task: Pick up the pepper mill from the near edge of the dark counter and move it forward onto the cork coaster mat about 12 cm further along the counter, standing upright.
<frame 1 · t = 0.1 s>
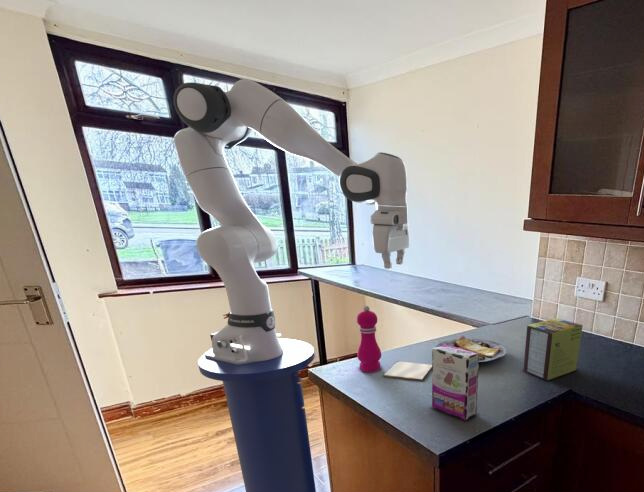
hand: (394, 266, 121), 31 cm above the table, tool pointing down, fingers open, 8 cm apart
protein box: (549, 370, 133), on the table
pepper mill: (370, 368, 128), on the table
food plate: (470, 355, 143), on the table
candy bar box: (454, 411, 104), on the table
coaster mat: (409, 371, 127), on the table
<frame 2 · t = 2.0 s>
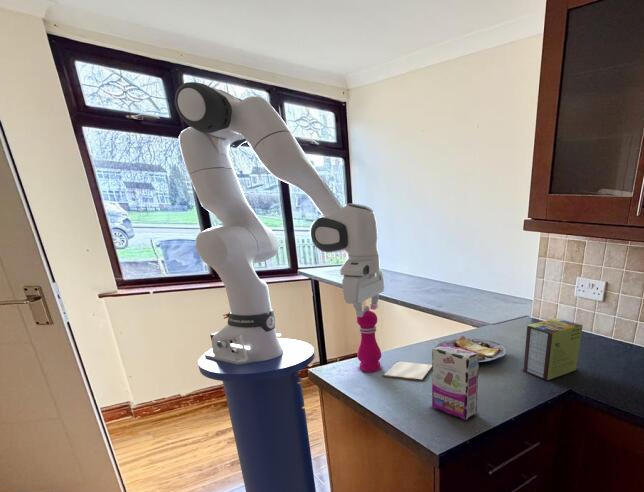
hand: (367, 312, 121), 18 cm above the table, tool pointing down, fingers open, 8 cm apart
nothing on the table moved.
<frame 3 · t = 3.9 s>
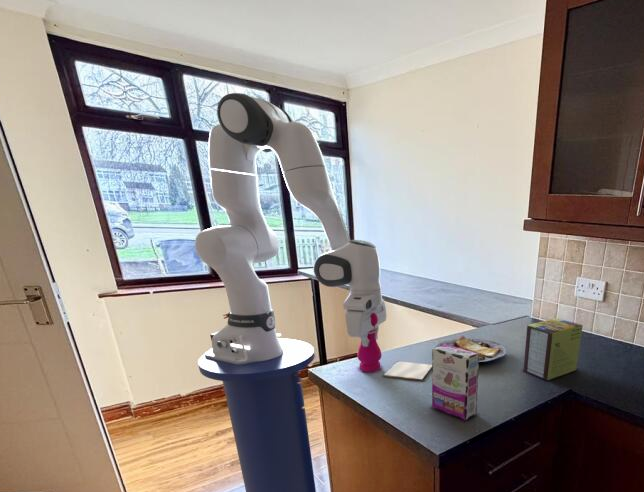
hand: (370, 342, 124), 9 cm above the table, tool pointing down, fingers closed on pepper mill, 4 cm apart
pepper mill: (370, 368, 128), on the table, touching arm, gripper
everything else where it was.
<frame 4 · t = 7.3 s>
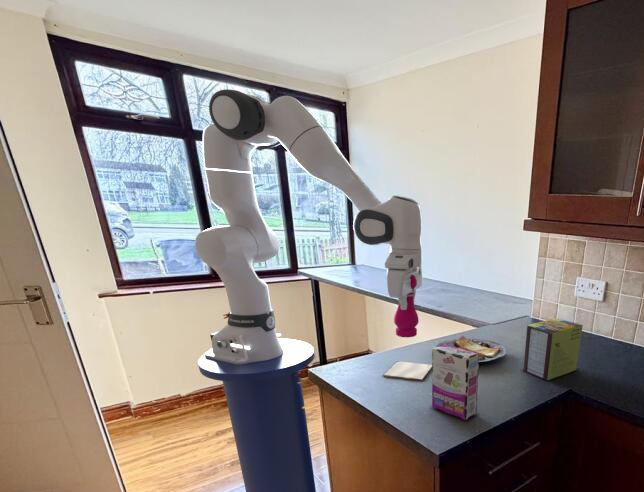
hand: (407, 307, 119), 20 cm above the table, tool pointing down, fingers closed on pepper mill, 4 cm apart
pepper mill: (406, 334, 122), point 12 cm above the table, touching arm, gripper
everything else where it was.
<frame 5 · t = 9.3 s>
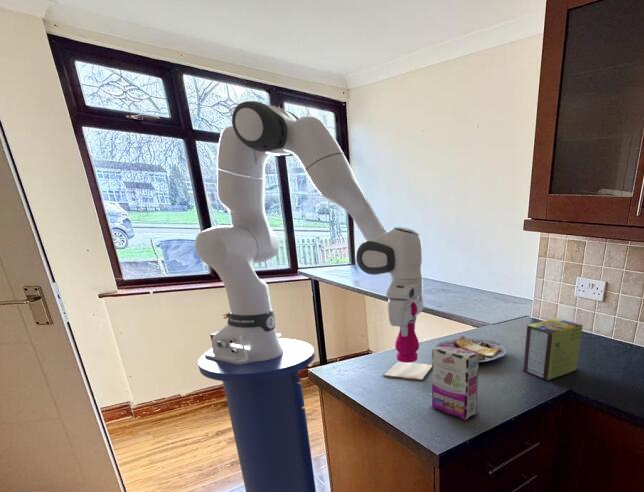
hand: (408, 333, 122), 12 cm above the table, tool pointing down, fingers closed on pepper mill, 4 cm apart
pepper mill: (407, 359, 125), point 4 cm above the table, touching arm, gripper
everything else where it was.
when the fingers open (9 cm above the table, at t = 10.8 s): pepper mill stays where it is, resting on coaster mat.
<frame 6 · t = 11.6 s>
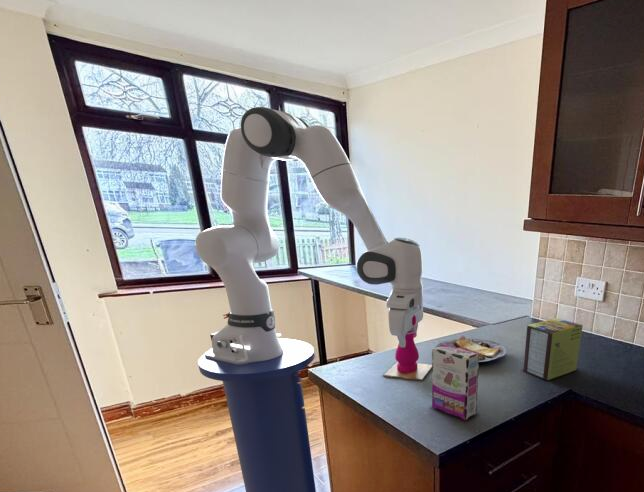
hand: (408, 341, 123), 10 cm above the table, tool pointing down, fingers open, 8 cm apart
pepper mill: (407, 369, 127), resting on coaster mat
everything else where it was.
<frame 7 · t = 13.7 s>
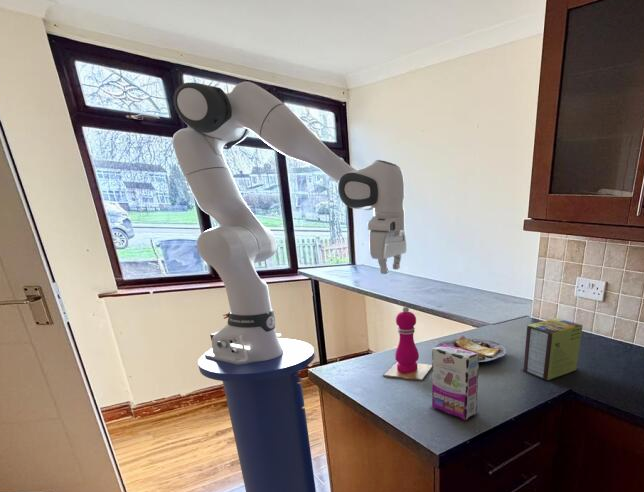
hand: (390, 271, 123), 29 cm above the table, tool pointing down, fingers open, 8 cm apart
nothing on the table moved.
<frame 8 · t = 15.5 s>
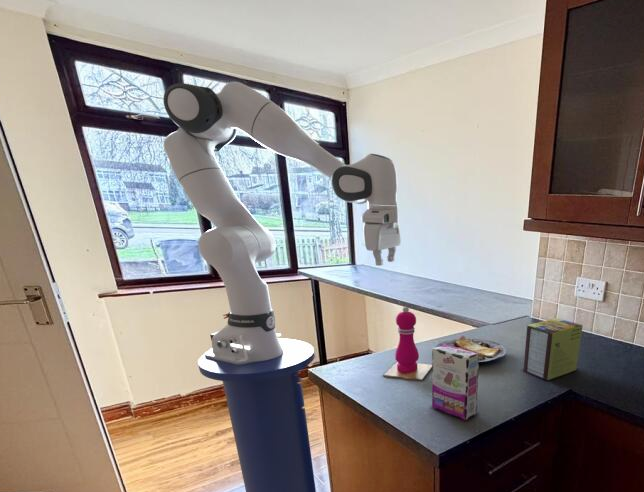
hand: (385, 263, 126), 31 cm above the table, tool pointing down, fingers open, 8 cm apart
nothing on the table moved.
at the end: pepper mill inside the target area on the coaster mat (0.7 cm from its centre), point 0.3 cm above the coaster mat's base; pepper mill tilted 0°; pepper mill moved 11.9 cm from its start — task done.
